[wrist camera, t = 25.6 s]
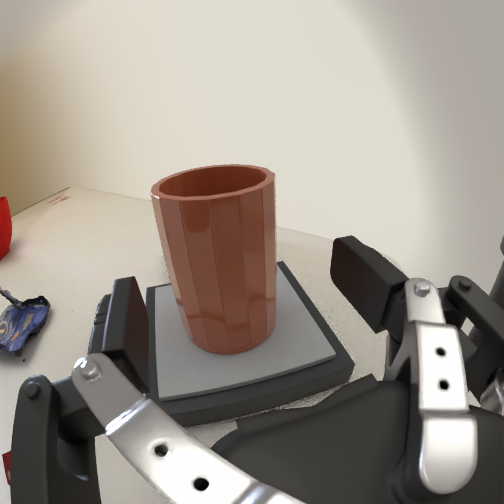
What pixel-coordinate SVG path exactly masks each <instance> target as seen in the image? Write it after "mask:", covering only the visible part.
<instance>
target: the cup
mask: <svg viewBox="0 0 504 504" xmlns="http://www.w3.org/2000/svg"><path fill="white" fill-rule="evenodd" d="M151 197H152V203H153V208H154V213H155V218H156V223H157V227H158V232H159V236H160V241H161V245H162V249H163V253H164V258H165V262H166V266H167V270H168V273H169V277H170V281H171V285H172V289H173V292H174V296H175V299H176V303H177V306H178V310H179V313H180V316H181V320H182V323H183V326H184V329H185V331H186V333H187V335H188V337H189V339H190V340H191V341H192V342H193V343H194V344H195V345H197V346H198V347H199V348H201V349H203V350H205V351H208V352H211V353H216V354H227V355H228V354H238V353H242V352H246V351H249V350H251V349H254V348H255V347H257V346H259V345H260V344H262V343H263V342H264V341H265V340H266V339H268V337H269V336H270V335H271V334H272V332H273V330H274V328H275V325H276V312H277V244H276V188H275V174H274V173H273V172H271V171H270V170H268V169H266V168H262V167H258V166H252V165H239V164H230V165H213V166H207V167H200V168H194V169H190V170H186V171H182V172H178V173H175V174H173V175H171V176H168V177H166V178H163V179H161V180H160V181H158V182H157V183H156V184H154V185H153V186H152V189H151Z"/></svg>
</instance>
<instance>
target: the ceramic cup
mask: <svg viewBox="0 0 504 504" xmlns="http://www.w3.org/2000/svg"><path fill="white" fill-rule="evenodd" d="M11 236H12V221H11V215H10V210H9V206H8V201H7V198H6V196H4V197H1V198H0V259H1V258H2V257H3V256H5V255H6V254H7V252H8V251H9V246H10V242H11Z"/></svg>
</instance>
